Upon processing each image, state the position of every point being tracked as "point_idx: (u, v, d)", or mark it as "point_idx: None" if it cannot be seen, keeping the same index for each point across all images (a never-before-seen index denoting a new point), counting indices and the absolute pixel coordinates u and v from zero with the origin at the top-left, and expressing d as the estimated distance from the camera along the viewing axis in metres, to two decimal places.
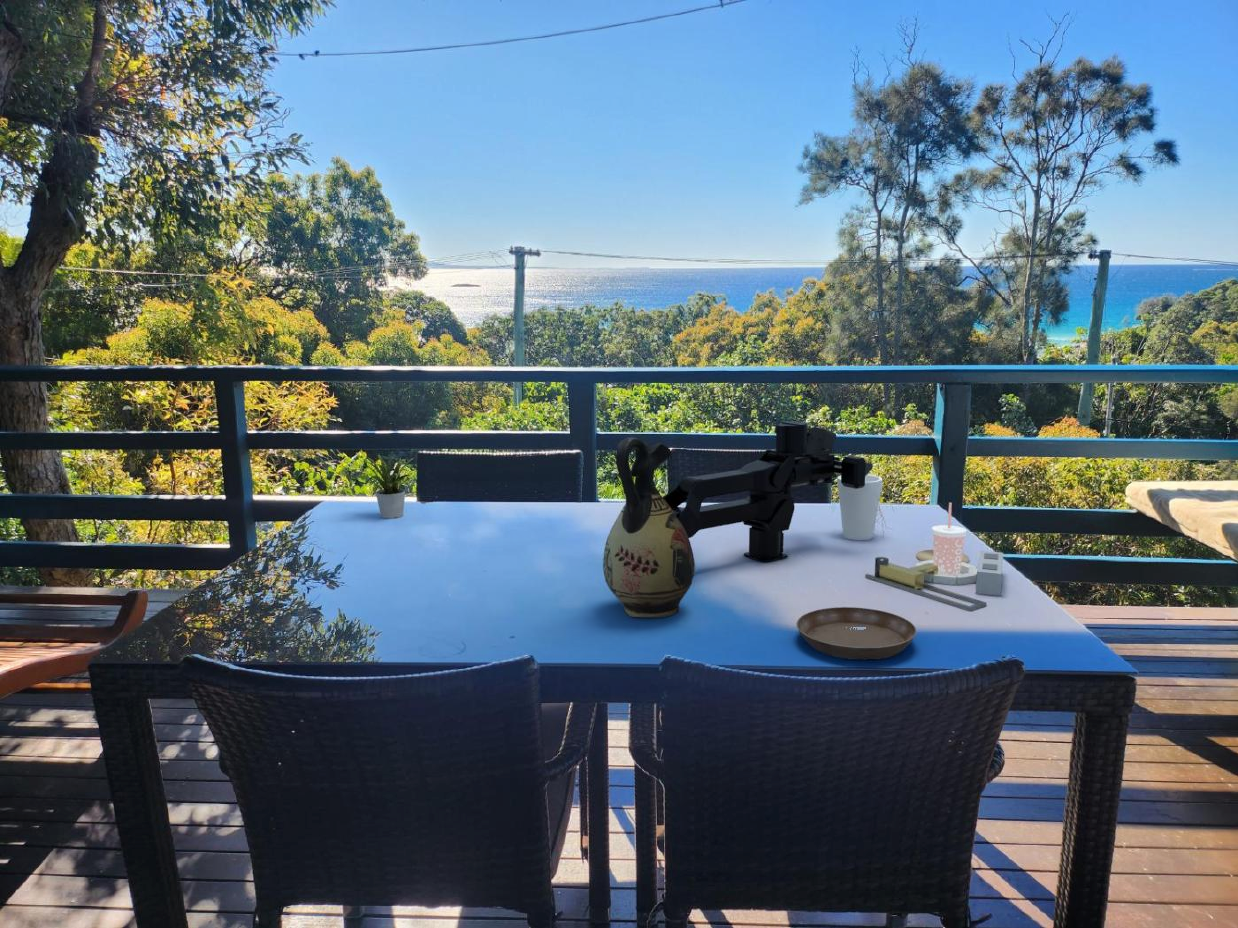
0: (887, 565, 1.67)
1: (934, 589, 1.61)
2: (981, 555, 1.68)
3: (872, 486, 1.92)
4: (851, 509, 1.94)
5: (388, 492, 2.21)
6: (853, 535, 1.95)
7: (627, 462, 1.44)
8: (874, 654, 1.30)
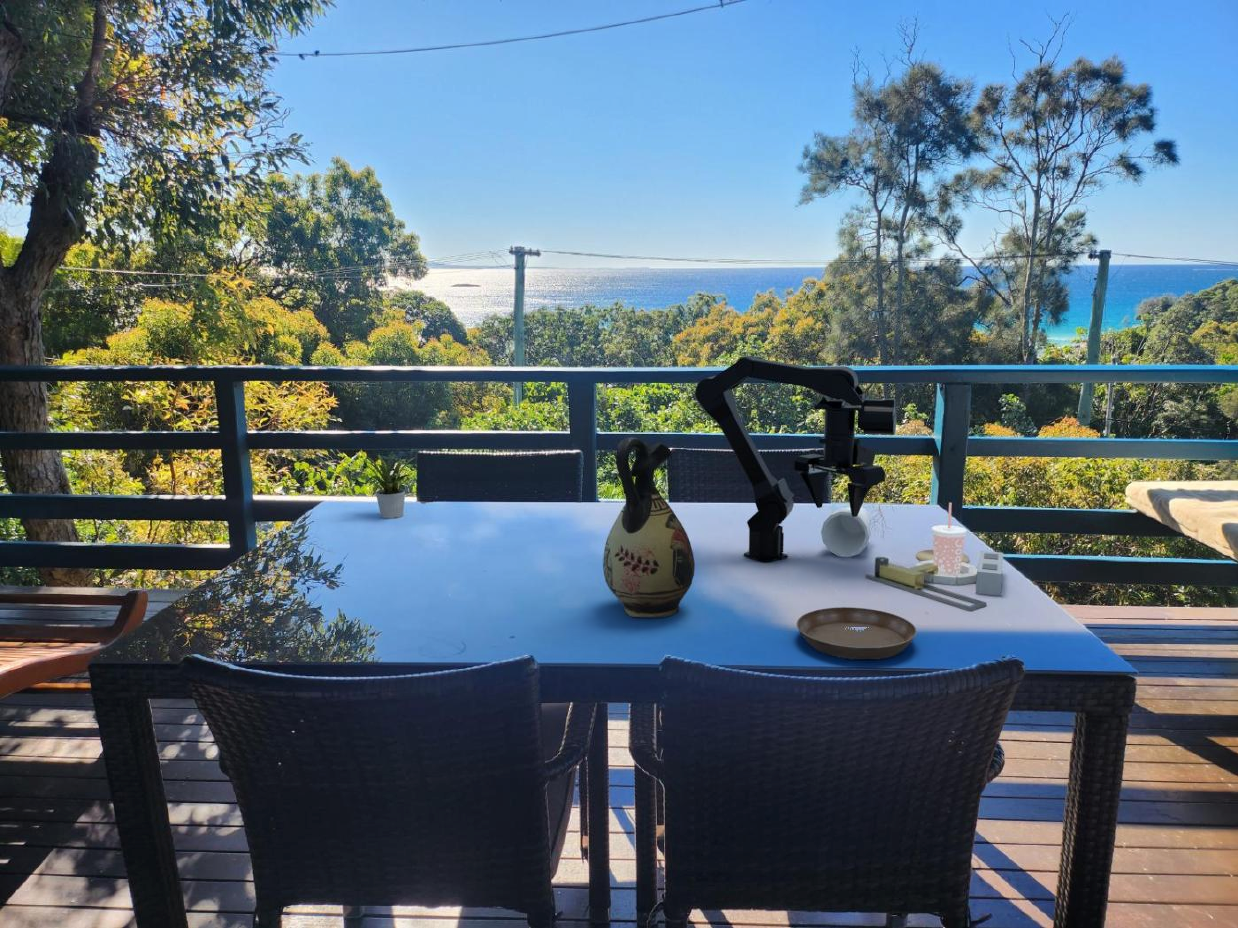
0: (887, 565, 1.67)
1: (934, 589, 1.61)
2: (981, 555, 1.68)
3: None
4: None
5: (388, 492, 2.21)
6: None
7: (627, 462, 1.44)
8: (874, 654, 1.30)
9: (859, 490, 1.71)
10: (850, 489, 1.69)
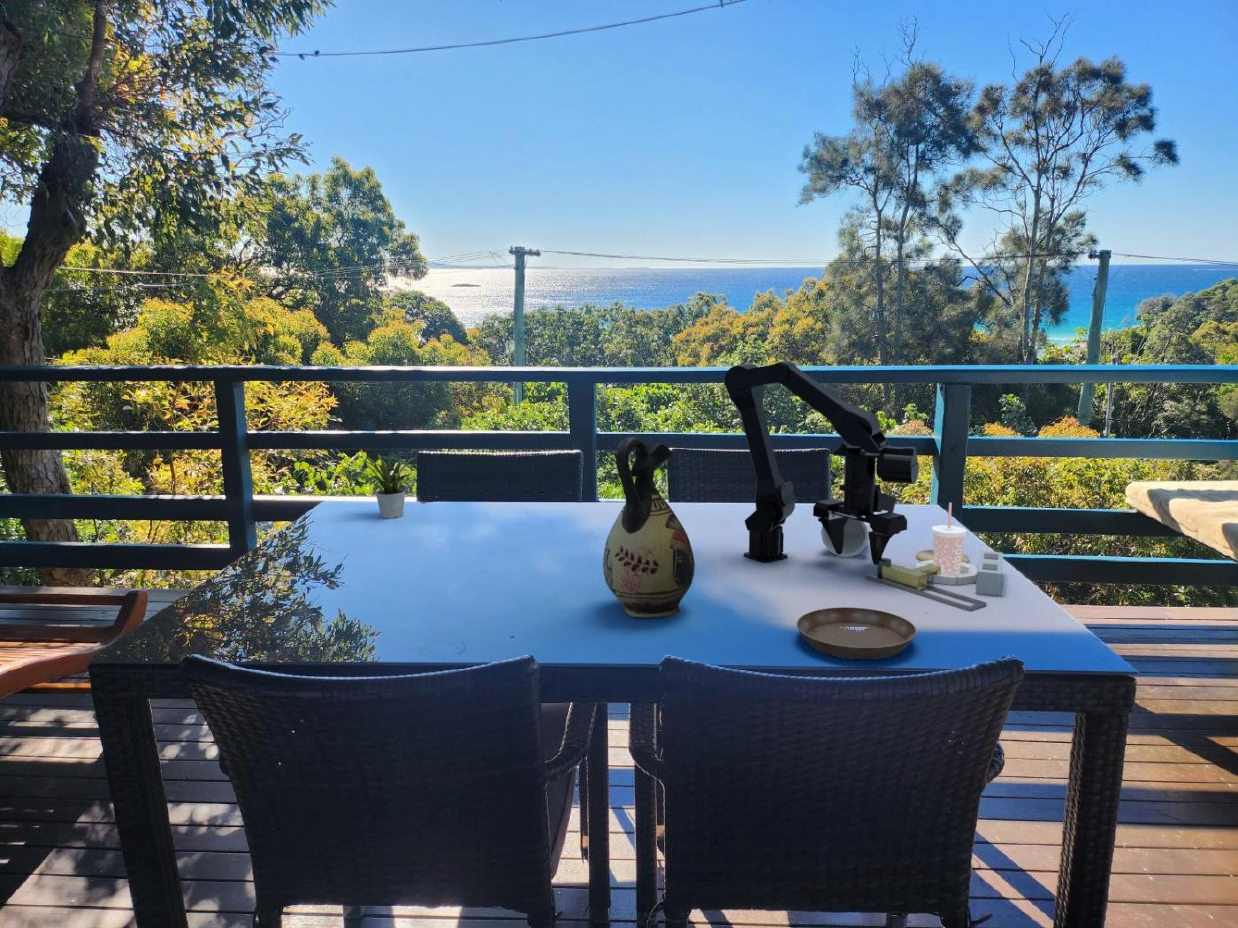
0: (890, 566, 1.66)
1: (934, 589, 1.61)
2: (981, 555, 1.68)
3: None
4: None
5: (388, 492, 2.21)
6: None
7: (627, 462, 1.44)
8: (874, 654, 1.30)
9: (880, 538, 1.68)
10: (871, 538, 1.67)
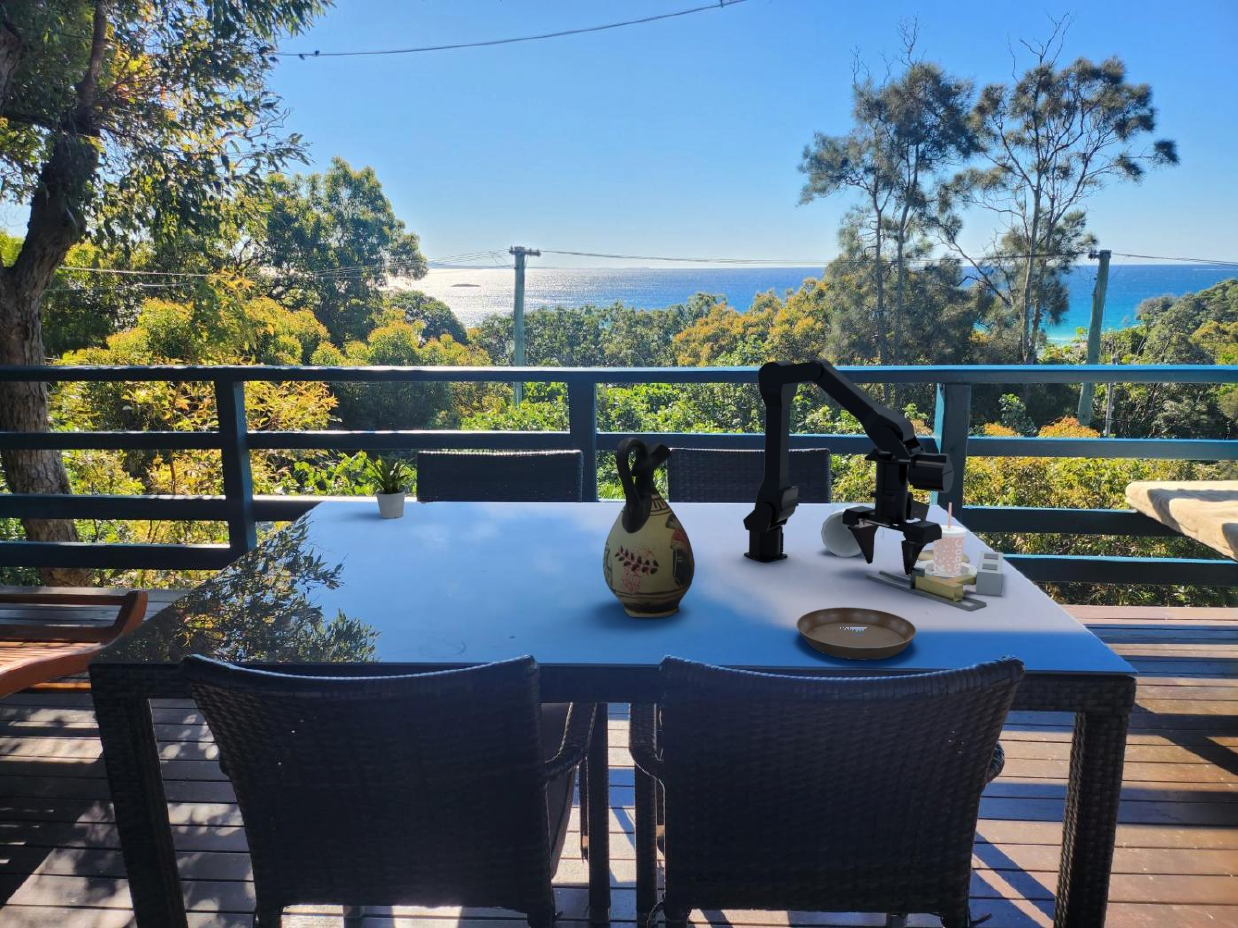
0: (924, 576, 1.60)
1: None
2: (981, 555, 1.68)
3: None
4: None
5: (388, 492, 2.21)
6: None
7: (627, 462, 1.44)
8: (874, 654, 1.30)
9: (913, 547, 1.62)
10: (904, 547, 1.60)
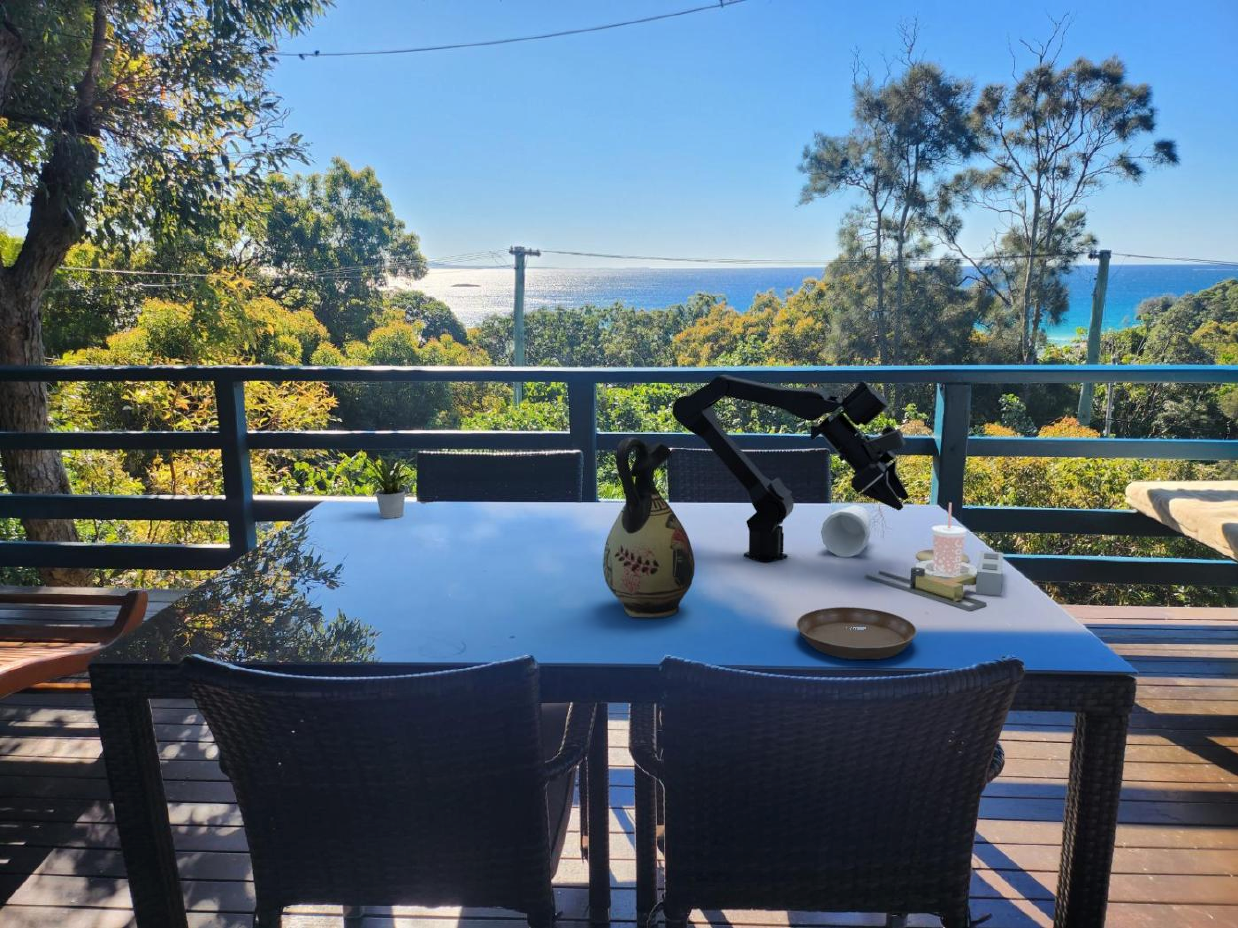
0: (924, 576, 1.60)
1: None
2: (981, 555, 1.68)
3: None
4: None
5: (388, 492, 2.21)
6: None
7: (627, 462, 1.44)
8: (874, 654, 1.30)
9: (879, 489, 1.66)
10: None
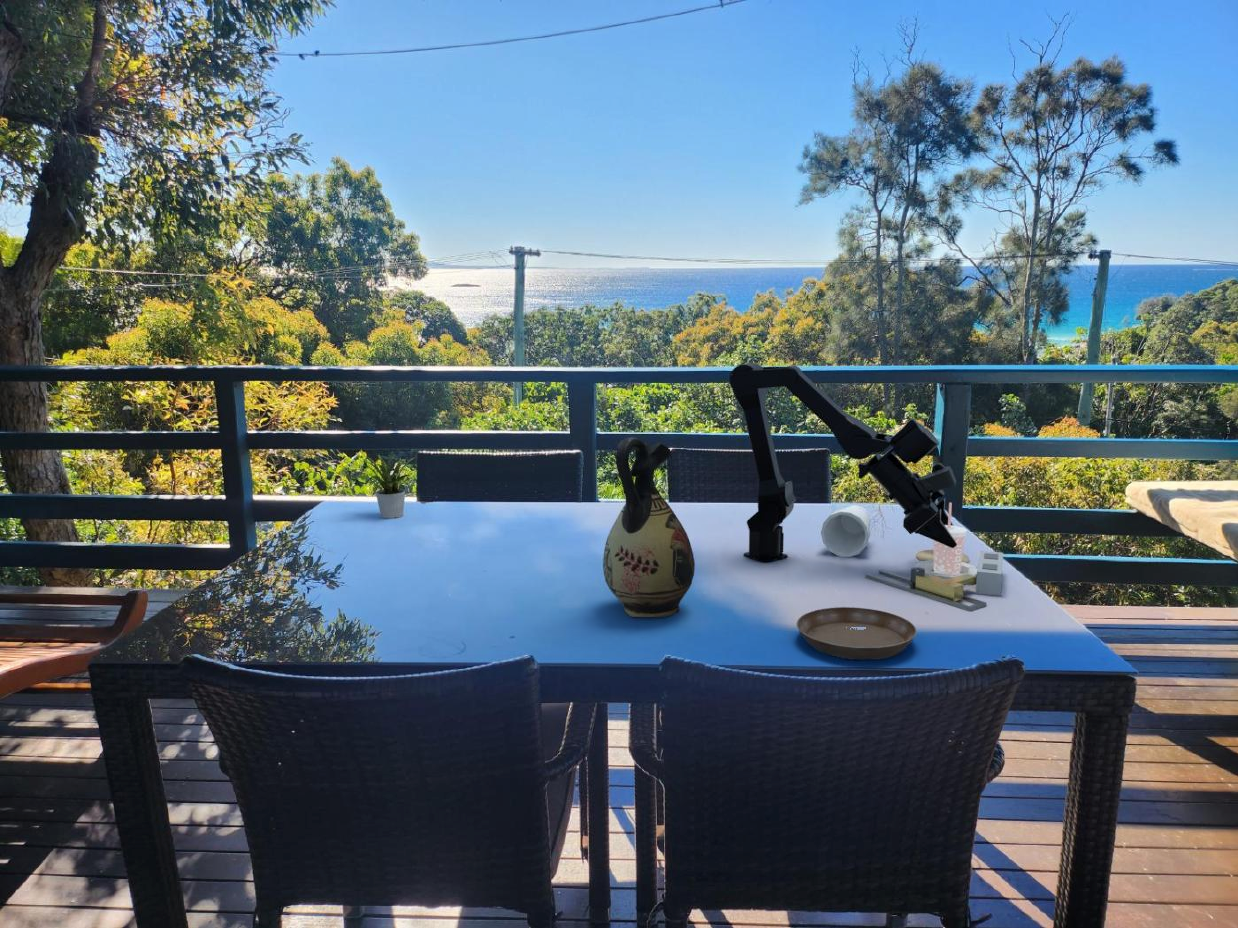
0: (924, 576, 1.60)
1: None
2: (981, 555, 1.68)
3: None
4: None
5: (388, 492, 2.21)
6: None
7: (627, 462, 1.44)
8: (874, 654, 1.30)
9: (932, 527, 1.65)
10: None
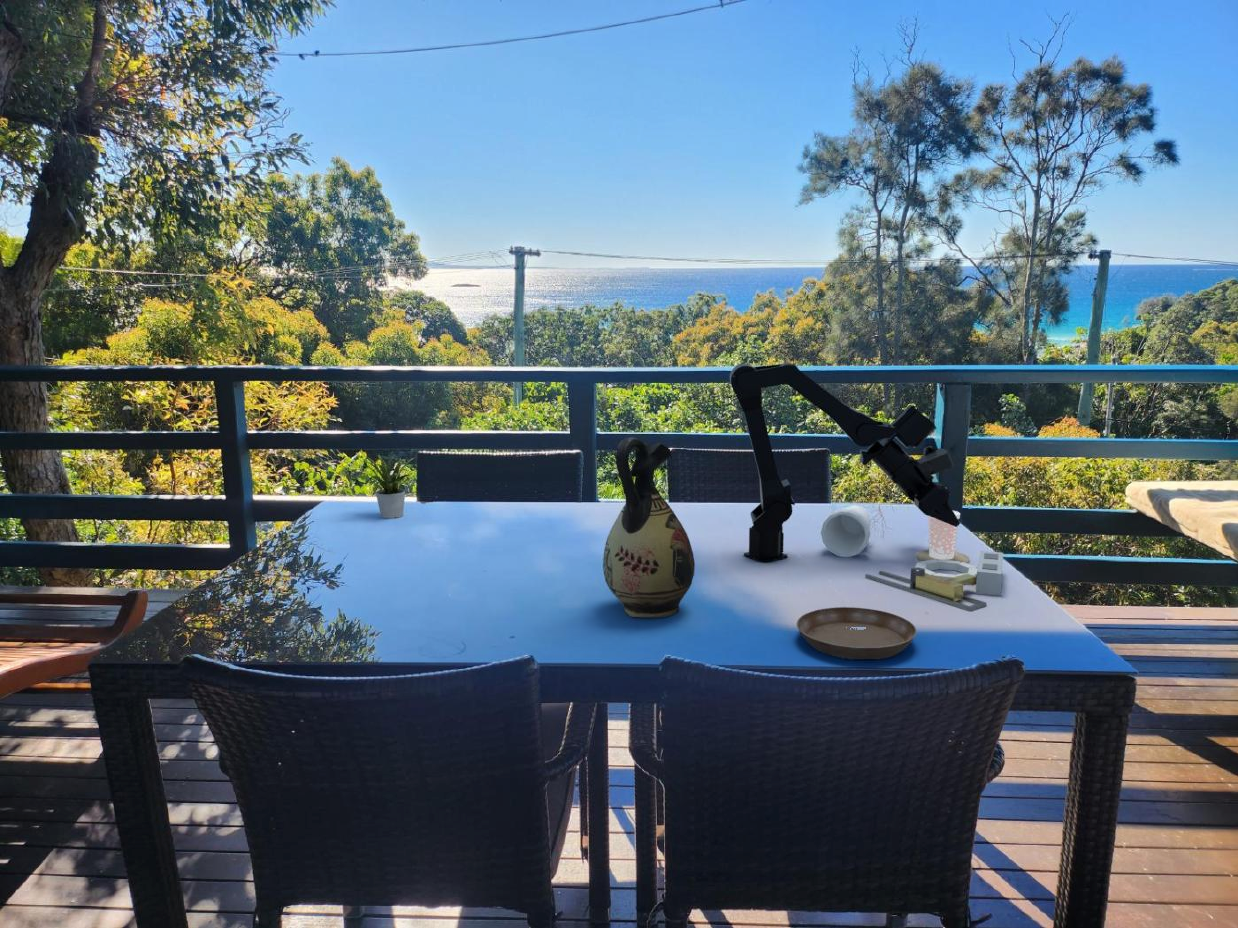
0: (924, 576, 1.60)
1: None
2: (981, 555, 1.68)
3: None
4: None
5: (388, 492, 2.21)
6: None
7: (627, 462, 1.44)
8: (875, 654, 1.30)
9: (939, 508, 1.73)
10: None
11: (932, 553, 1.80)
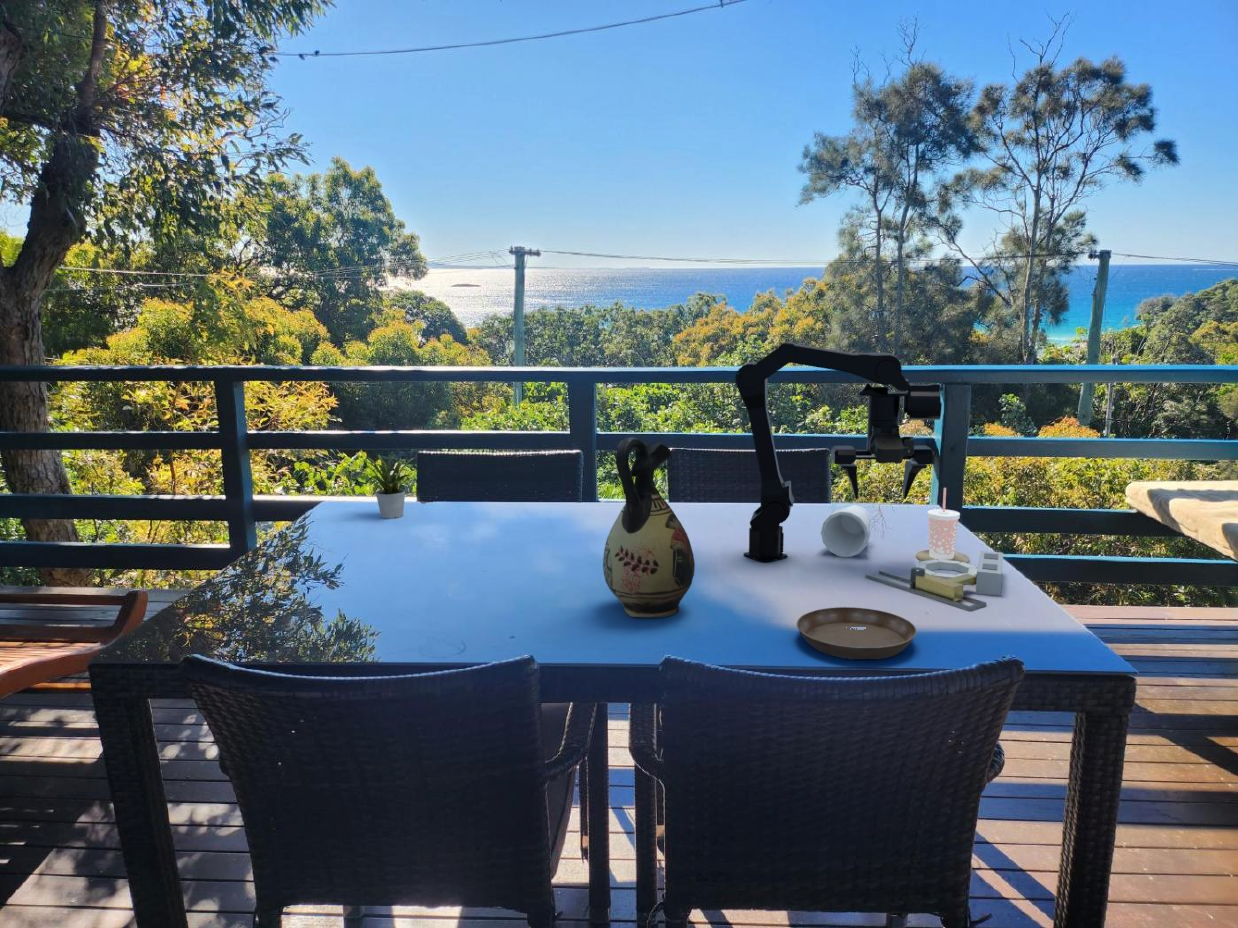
0: (924, 576, 1.60)
1: None
2: (981, 555, 1.68)
3: None
4: None
5: (388, 492, 2.21)
6: None
7: (627, 462, 1.44)
8: (875, 654, 1.30)
9: None
10: None
11: (932, 553, 1.80)
